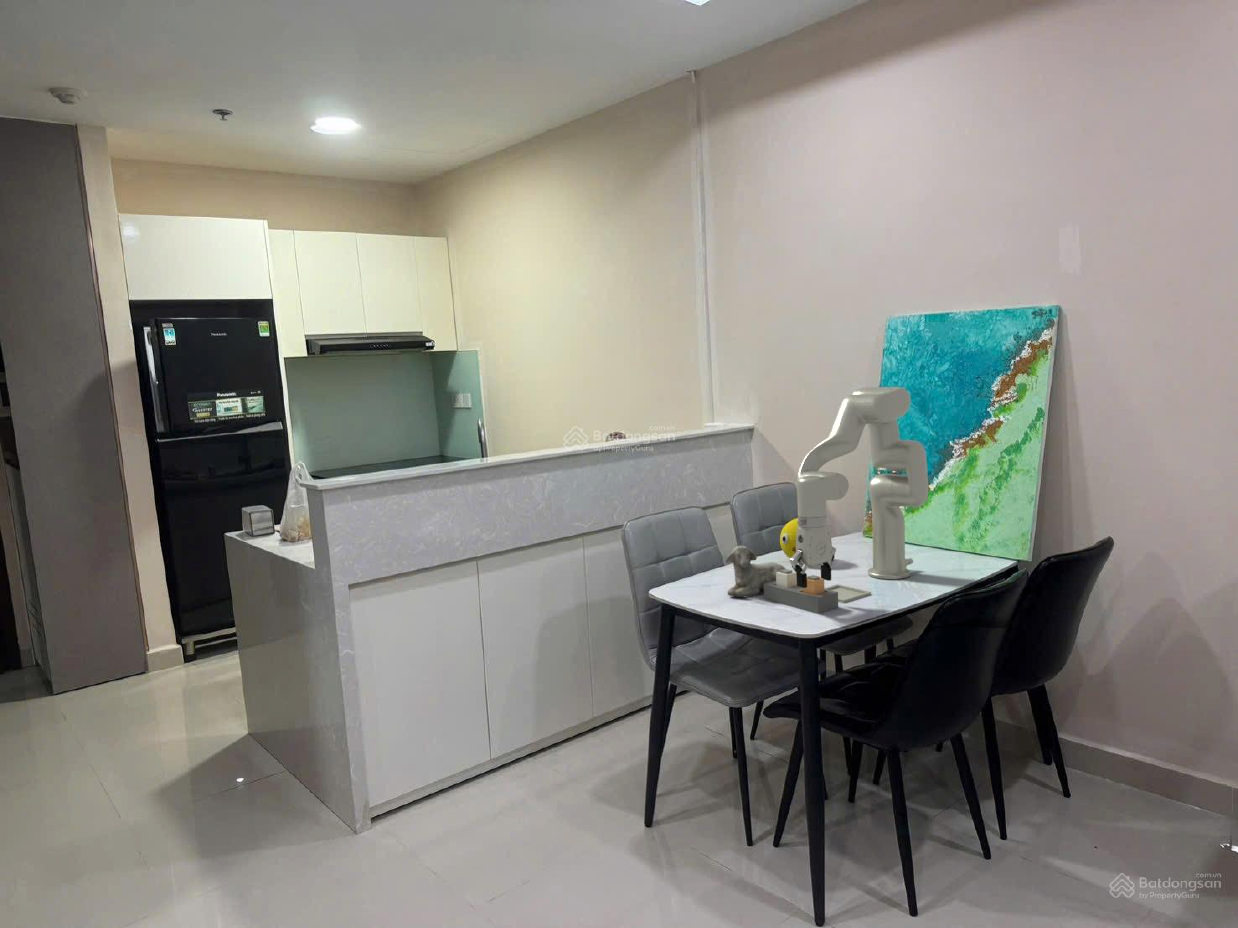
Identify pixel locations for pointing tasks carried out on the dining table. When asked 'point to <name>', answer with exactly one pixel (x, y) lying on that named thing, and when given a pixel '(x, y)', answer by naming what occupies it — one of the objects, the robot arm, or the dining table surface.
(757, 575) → the sculpture
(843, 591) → the tray
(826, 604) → the pdu
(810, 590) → the plug
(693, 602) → the dining table surface
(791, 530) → the toy
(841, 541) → the dining table surface
